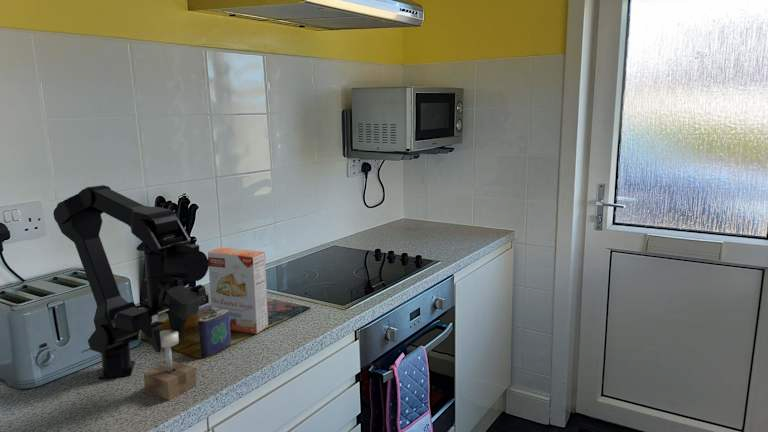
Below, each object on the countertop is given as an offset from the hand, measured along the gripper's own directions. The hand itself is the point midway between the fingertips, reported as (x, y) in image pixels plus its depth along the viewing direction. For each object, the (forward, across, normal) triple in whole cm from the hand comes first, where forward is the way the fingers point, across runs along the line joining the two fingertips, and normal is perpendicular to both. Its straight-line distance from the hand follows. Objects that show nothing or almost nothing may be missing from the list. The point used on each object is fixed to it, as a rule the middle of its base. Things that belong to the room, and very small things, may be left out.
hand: (167, 347), depth 113 cm
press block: (+9, 0, 0) cm, 9 cm away
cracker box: (+9, +32, +11) cm, 35 cm away
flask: (+9, +18, +6) cm, 21 cm away
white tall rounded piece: (+6, 0, 0) cm, 6 cm away
